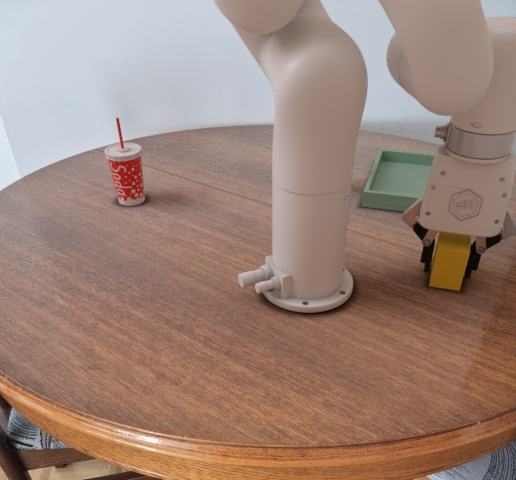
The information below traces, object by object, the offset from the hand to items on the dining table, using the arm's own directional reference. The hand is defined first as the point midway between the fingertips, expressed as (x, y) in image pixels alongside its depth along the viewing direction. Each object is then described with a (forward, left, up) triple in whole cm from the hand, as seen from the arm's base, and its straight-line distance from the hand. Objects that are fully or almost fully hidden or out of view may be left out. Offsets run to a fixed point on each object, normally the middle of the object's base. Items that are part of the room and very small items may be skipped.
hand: (447, 268), depth 76 cm
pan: (+12, +26, -1) cm, 29 cm away
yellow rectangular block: (0, 0, -1) cm, 1 cm away
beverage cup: (-34, +43, -1) cm, 55 cm away
